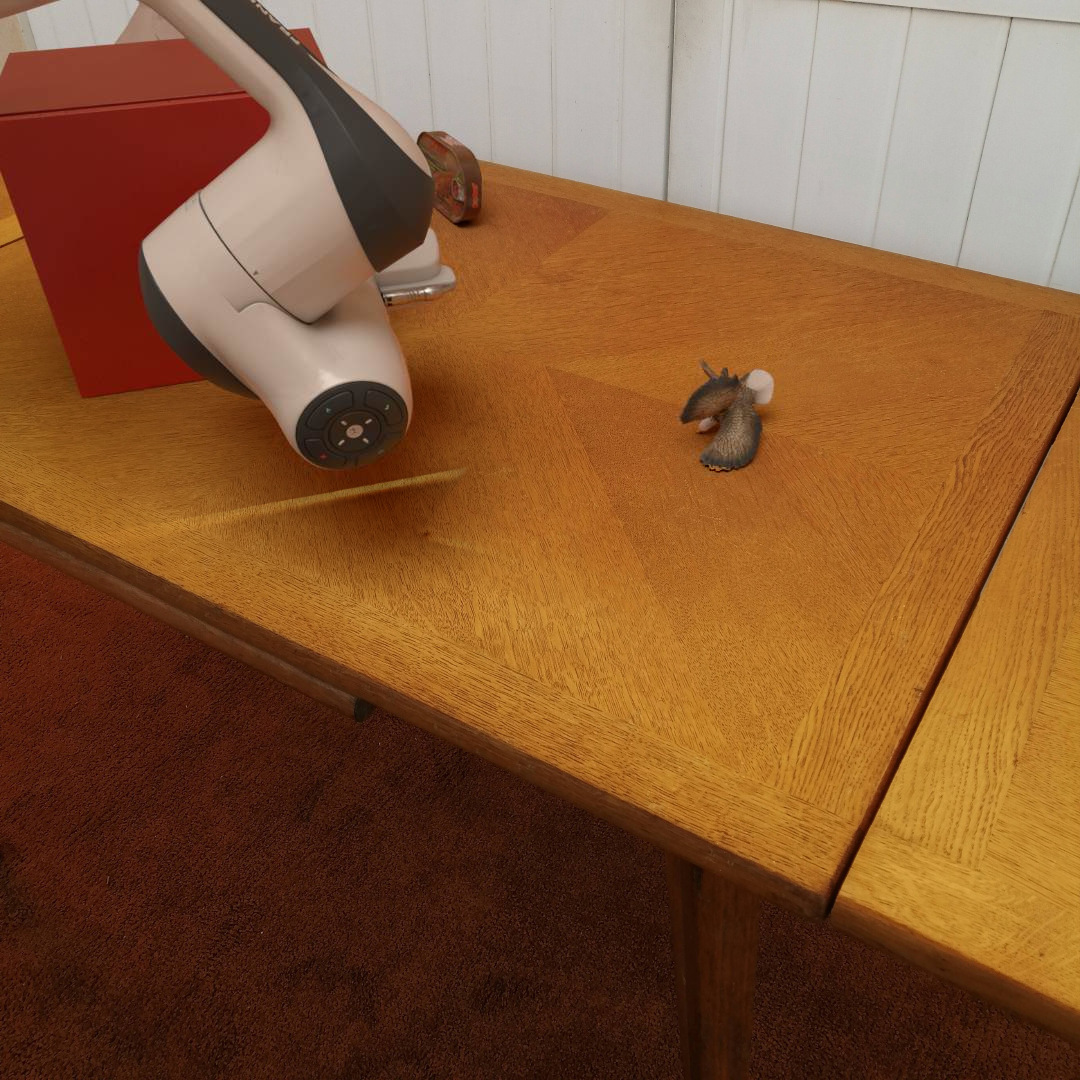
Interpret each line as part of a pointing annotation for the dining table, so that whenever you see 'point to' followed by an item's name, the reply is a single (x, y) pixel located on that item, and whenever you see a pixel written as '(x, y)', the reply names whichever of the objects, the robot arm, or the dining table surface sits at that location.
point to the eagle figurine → (729, 414)
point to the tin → (453, 175)
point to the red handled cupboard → (115, 218)
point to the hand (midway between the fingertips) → (300, 235)
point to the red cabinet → (115, 75)
